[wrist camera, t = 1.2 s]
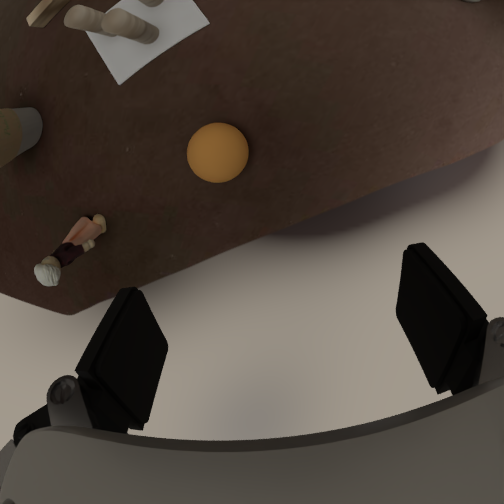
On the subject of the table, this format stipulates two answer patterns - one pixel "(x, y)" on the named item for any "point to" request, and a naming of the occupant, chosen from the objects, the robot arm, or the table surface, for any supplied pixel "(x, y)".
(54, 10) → the back rail
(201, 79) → the table surface
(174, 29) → the pin deck mark
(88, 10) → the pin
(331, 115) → the table surface
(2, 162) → the coffee cup
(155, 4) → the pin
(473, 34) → the table surface
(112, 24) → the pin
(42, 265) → the grandmother figurine
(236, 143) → the ball
